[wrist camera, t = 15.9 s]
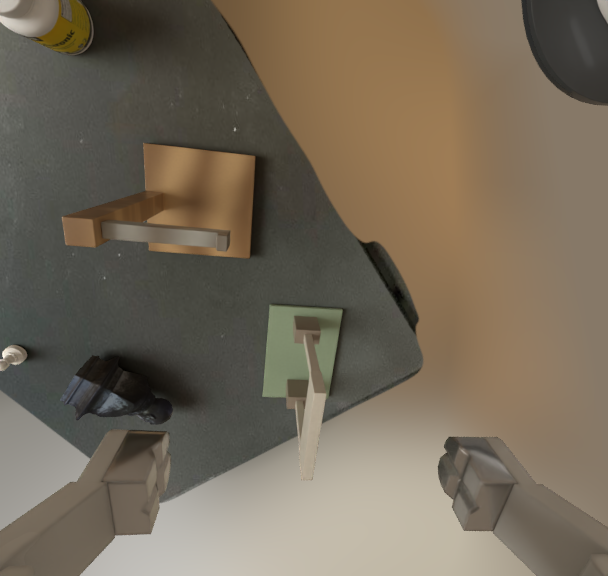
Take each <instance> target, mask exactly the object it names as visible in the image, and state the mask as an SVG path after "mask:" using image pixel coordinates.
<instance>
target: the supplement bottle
mask: <svg viewBox="0 0 608 576" xmlns="http://www.w3.org/2000/svg"><path fill="white" fill-rule="evenodd" d="M0 22H1V23H2V24H3V25H4V26H6V27H7V28H9V29H10V30H12V31H14V32H16V33H18V34H19V35H22V36H24V37H26V38H29V39H31V40H33V41H35V42H37V43H39V44H41V45H44V46H46V47H48V48H50V49H52V50H54V51H57V52H59V53H62V54H65V55H77V54H80V53H82V52H84V51H85V50H87V48H88V47H89V46H90V44H91V42H92V40H93V34H94V29H93V22H92V19H91V16H90V13H89V11H88V10H87V8H86V7H85V5H84V4H83V3H82V1H81V0H0Z"/></svg>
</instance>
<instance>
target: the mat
mask: <svg viewBox="0 0 608 576" xmlns="http://www.w3.org/2000/svg"><path fill="white" fill-rule="evenodd" d="M342 312H343V310H342V309H340V308H324V307H308V306H292V305H276V304H270V311H269V323H268V335H267V348H266V360H265V372H264V385H263V397H286V383H287V379H292V380H308V381H309V376H310V375H309V369H308V363H307V358H306V352H305V346H304V344H299V343H294V336H293V320H294V316H306V317H317V319H318V323H319V326H320V330H321V334H320V341H319V345H318V344H314V346H315V351H316V355H317V359H318V364H319V368H320V372H322V377H323V381H324V385H325V390H326V399H328V397H329V391H330V385H331V378H332V372H333V366H334V360H335V354H336V348H337V342H338V336H339V330H340V324H341V318H342Z"/></svg>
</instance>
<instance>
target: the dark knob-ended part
mask: <svg viewBox="0 0 608 576" xmlns="http://www.w3.org/2000/svg"><path fill="white" fill-rule="evenodd" d="M119 358H120V357H119V356H118V357H115V358H112V359H111V360H109V361H104V360H102V359H100V358H99V356H93V355H92V357H90V359H89V360H88V361H87V362H86V363H85V364H84V366H83V367H82V368H80V370H79V371H78V372H77V373H76V375H75V376H74V378H73V379H72V381H71V383H70V384H69V386H68V387H67V390H66V391H65V393H64V394H63V396H62V397H61V400H60V401H63V402H64V405H66V404H70V405H72V406H75V408H76V414H75V415H76V420H79V419H80V418H81V417H82V416H83V415H85V414H87V413H92V414H96V415H98V416H100V417H118V416H123V415H126V414H127V415H129V416H133V415H137V416H139V417H140V418H141V419H142V420H144V421H145V422H149V423H150V424H162V423H164V422H166V421H167V420H169V419H170V417H171V415H172V413H173V409H172V405H171V403H170V402H169V401H168V400H166V399H162V398H160V399H158V398H155V396H154V395H153V393H152V392H151V389H150V388H149V385H148V381H147V378H146V376H143V375H139V374H135V373H131V372H127V371H123V370H122V369H121V368H119V366H118V361H119Z"/></svg>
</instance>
